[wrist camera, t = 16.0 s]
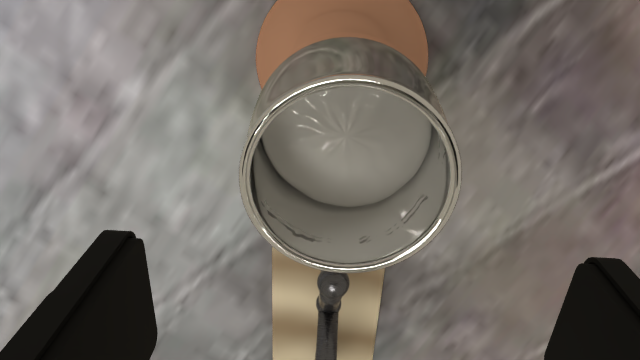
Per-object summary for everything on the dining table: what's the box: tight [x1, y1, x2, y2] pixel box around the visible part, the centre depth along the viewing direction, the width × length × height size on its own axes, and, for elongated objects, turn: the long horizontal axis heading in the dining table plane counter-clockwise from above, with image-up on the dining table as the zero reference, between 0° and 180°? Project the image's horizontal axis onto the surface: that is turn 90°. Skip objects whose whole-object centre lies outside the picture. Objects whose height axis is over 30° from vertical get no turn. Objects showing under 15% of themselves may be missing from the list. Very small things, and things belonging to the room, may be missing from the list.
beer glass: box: [239, 11, 462, 273], centre depth 20 cm, size 7×7×15 cm
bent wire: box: [315, 270, 350, 360], centre depth 28 cm, size 16×2×11 cm, turn 177°
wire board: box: [272, 246, 385, 360], centre depth 34 cm, size 19×8×2 cm, turn 177°
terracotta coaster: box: [256, 0, 428, 89], centre depth 27 cm, size 10×10×1 cm
